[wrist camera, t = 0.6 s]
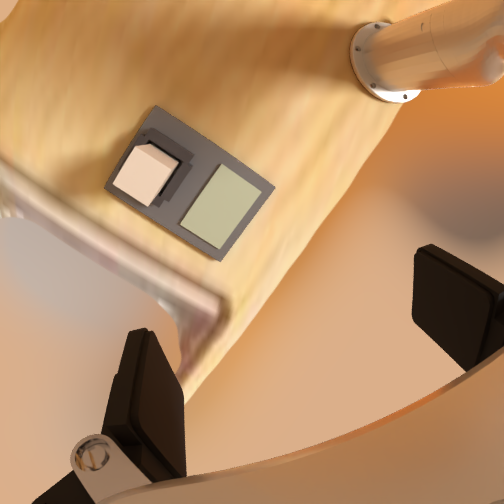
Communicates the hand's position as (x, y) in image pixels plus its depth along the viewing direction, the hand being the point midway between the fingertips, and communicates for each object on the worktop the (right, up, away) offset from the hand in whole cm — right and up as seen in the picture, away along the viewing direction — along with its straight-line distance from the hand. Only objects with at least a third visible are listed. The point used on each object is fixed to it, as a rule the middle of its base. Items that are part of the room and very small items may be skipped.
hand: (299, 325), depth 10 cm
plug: (-13, +13, +25) cm, 31 cm away
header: (-9, +11, +28) cm, 31 cm away
